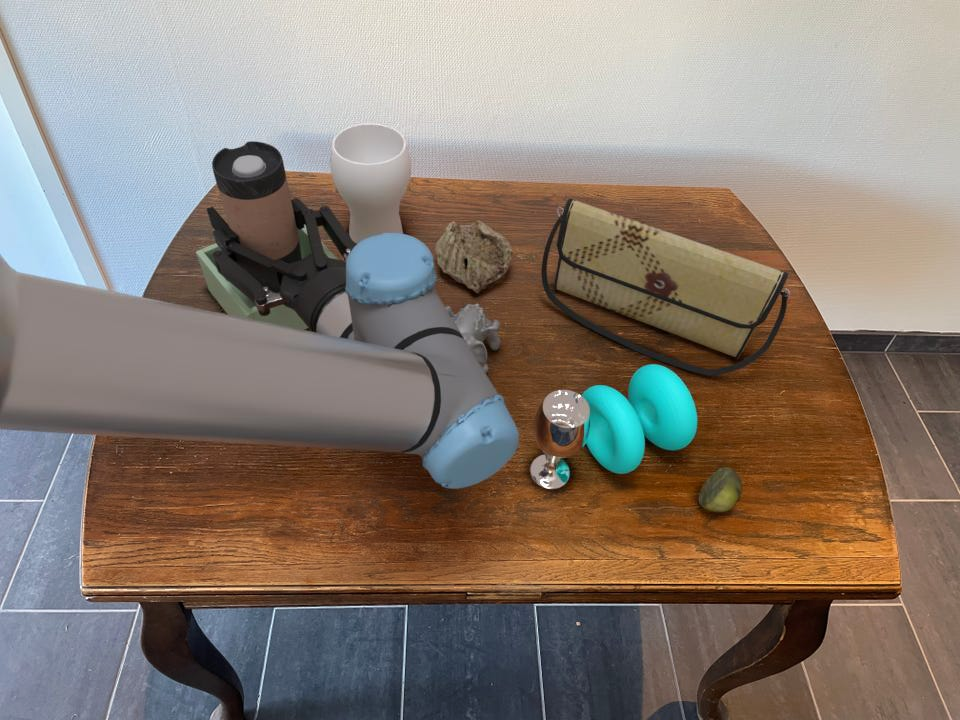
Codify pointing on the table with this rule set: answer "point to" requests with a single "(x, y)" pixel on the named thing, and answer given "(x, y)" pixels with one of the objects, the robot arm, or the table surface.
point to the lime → (721, 490)
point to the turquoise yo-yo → (639, 418)
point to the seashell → (473, 254)
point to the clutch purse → (663, 283)
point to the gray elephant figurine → (477, 331)
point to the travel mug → (258, 202)
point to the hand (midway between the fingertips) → (243, 204)
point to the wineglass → (559, 436)
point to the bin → (240, 303)
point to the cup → (371, 177)
